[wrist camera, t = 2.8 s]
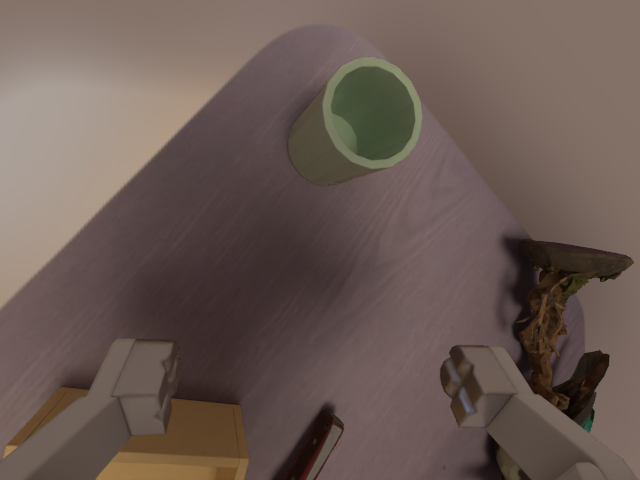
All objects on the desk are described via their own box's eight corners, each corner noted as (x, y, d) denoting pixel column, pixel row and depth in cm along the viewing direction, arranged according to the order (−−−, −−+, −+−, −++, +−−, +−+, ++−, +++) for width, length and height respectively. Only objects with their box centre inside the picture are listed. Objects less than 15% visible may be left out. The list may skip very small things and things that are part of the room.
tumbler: (279, 172, 27) (311, 147, 19) (298, 97, 28) (338, 38, 19) (350, 194, 29) (408, 182, 21) (367, 124, 29) (432, 82, 21)
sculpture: (601, 252, 23) (527, 586, 26) (651, 256, 31) (591, 506, 34) (482, 233, 29) (433, 500, 32) (549, 241, 38) (506, 452, 41)
